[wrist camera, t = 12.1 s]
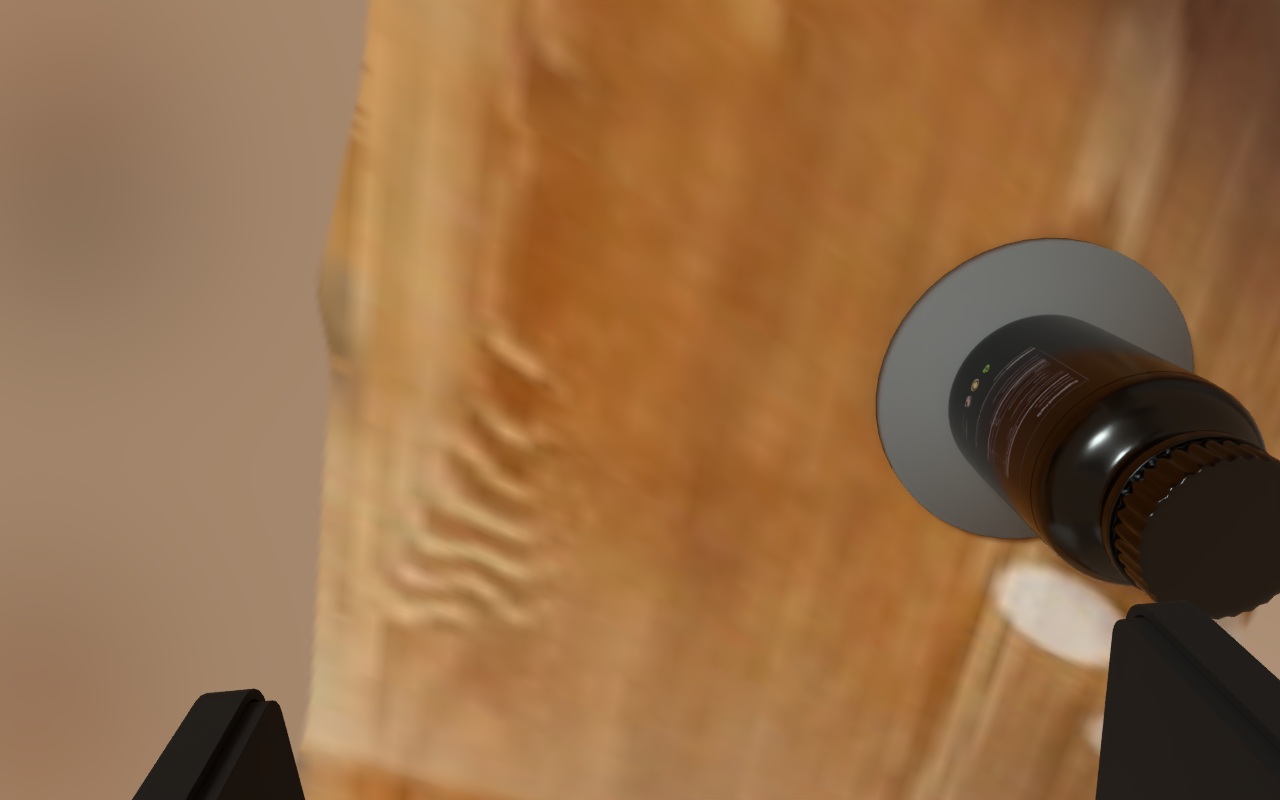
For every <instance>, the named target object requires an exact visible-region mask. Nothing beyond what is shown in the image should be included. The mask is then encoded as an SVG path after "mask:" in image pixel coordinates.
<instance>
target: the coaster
mask: <svg viewBox="0 0 1280 800" xmlns="http://www.w3.org/2000/svg"><path fill="white" fill-rule="evenodd" d="M1049 314H1052V315H1063V316H1069V317H1073V318H1076V319H1080V320H1082V321H1085V322H1088V323H1090V324H1092V325H1094V326H1096V327H1099V328H1101V329H1103V330H1105V331H1107V332H1109V333H1111V334H1113V335H1115V336H1118V337H1120V338H1122V339H1124V340H1126V341H1128V342H1130V343H1132V344H1134V345H1136V346H1138V347H1140V348H1142V349H1144V350H1146V351H1148V352H1150V353H1152V354H1154V355H1157V356H1159V357H1161V358H1163V359H1165V360H1167V361H1169V362H1171V363H1173V364H1175V365H1177V366H1179V367H1181V368H1183V369H1185V370H1187V371H1189V372H1191V373H1193V351H1192V346H1191V340H1190V334H1189V331H1188V328H1187V325H1186V322H1185V319H1184V317H1183V315H1182V313H1181V311H1180V309H1179V307H1178V305H1177V303H1176V301H1175V300H1174V298H1173V297H1172V296H1171V294H1170V293H1169V291H1168V290H1167V289H1166V287H1165V286H1164V285H1163V284H1162V283H1161V282H1160V281H1159V280H1158V279H1157V278H1156V277H1155V276H1154V275H1153V274H1152V273H1151V272H1150V271H1148V270H1147V269H1146V268H1144V267H1143V266H1141V265H1140V264H1139V263H1137V262H1136V261H1134V260H1132V259H1130V258H1128V257H1126V256H1124V255H1122V254H1120V253H1118V252H1116V251H1113V250H1110V249H1107V248H1104V247H1101V246H1098V245H1095V244H1092V243H1089V242H1084V241H1079V240H1073V239H1066V238H1040V239H1029V240H1023V241H1018V242H1014V243H1010V244H1005V245H1002V246H999V247H997V248H994V249H991V250H988V251H986V252H983V253H981V254H979V255H977V256H975V257H973V258H971V259H969V260H967V261H965V262H964V263H962V264H961V265H959V266H957V267H956V268H954V269H953V270H951V271H950V272H948V273H947V274H945V275H944V276H943V277H942V278H941V279H940V280H938V281H937V282H936V283H935V284H934V285H933V286H931V287H930V288H929V289H928V290H927V291H926V292H925V293H924V294H923V295H922V296H921V298H920V299H919V300H918V301H917V302H916V303H915V304H914V305H913V307H912V308H911V309H910V311H909V312H908V313H907V315H906V316H905V318H904V319H903V320H902V322H901V323H900V325H899V327H898V329H897V330H896V332H895V334H894V336H893V338H892V339H891V342H890V344H889V346H888V349H887V351H886V354H885V356H884V359H883V362H882V366H881V370H880V374H879V377H878V384H877V392H876V420H877V427H878V433H879V437H880V440H881V444H882V447H883V450H884V453H885V455H886V457H887V459H888V461H889V463H890V466H891V468H892V469H893V471H894V472H895V474H896V475H897V477H898V478H899V479H900V481H901V482H902V484H903V485H904V486H905V488H906V489H907V491H908V492H909V493H910V494H911V495H912V496H913V497H914V498H915V499H916V500H917V501H918V503H919V504H921V505H922V506H923V507H924V508H926V509H927V510H928V511H929V512H931V513H932V514H933V515H935V516H936V517H938V518H940V519H941V520H943V521H945V522H946V523H948V524H950V525H953V526H955V527H957V528H960V529H962V530H965V531H968V532H972V533H975V534H979V535H983V536H990V537H997V538H1029V537H1038V535H1037V534H1036V533H1035V532H1034V531H1033V530H1032V529H1031V528H1030V527H1029V526H1028V525H1027V523H1026V522H1025V521H1024V520H1023V519H1022V518H1021V517H1020V516H1019V515H1018V514H1017V513H1016V512H1015V511H1014V510H1013V509H1012V508H1011V507H1010V506H1009V505H1008V504H1007V503H1006V502H1005V501H1004V499H1003V498H1002V497H1001V496H1000V495H999V494H998V493H997V492H996V491H995V490H994V489H993V488H992V487H991V486H990V485H989V484H988V483H987V482H986V481H985V480H984V479H983V478H982V477H981V476H980V474H979V473H978V472H977V471H976V470H975V469H974V468H973V467H972V466H971V465H970V463H969V462H968V461H967V460H966V459H965V457H964V456H963V455H962V453H961V452H960V450H959V449H958V447H957V445H956V443H955V441H954V439H953V436H952V433H951V429H950V425H949V418H948V402H949V395H950V390H951V387H952V383H953V381H954V378H955V376H956V374H957V372H958V370H959V368H960V366H961V364H962V363H963V361H964V360H965V358H966V357H967V356H968V354H969V353H970V352H971V351H972V350H973V348H974V347H975V346H976V345H977V344H978V343H979V342H981V341H982V340H983V339H984V338H985V337H987V336H988V335H989V334H991V333H992V332H994V331H995V330H997V329H998V328H1000V327H1002V326H1004V325H1006V324H1008V323H1011V322H1013V321H1016V320H1019V319H1022V318H1026V317H1030V316H1036V315H1049Z"/></svg>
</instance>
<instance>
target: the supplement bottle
mask: <svg viewBox="0 0 1280 800" xmlns="http://www.w3.org/2000/svg"><path fill="white" fill-rule="evenodd" d="M948 418H949V425H950V429H951V433H952V436H953V439H954V441H955V443H956V445H957V447H958V449H959V450H960V452H961V453H962V455H963V456H964V457H965V459H966V460H967V461H968V462H969V463H970V465H971V466H972V467H973V468H974V469H975V470H976V471H977V472H978V473H979V474H980V476H981V477H982V478H983V479H984V480H985V481H986V482H987V483H988V484H989V485H990V486H991V487H992V488H993V489H994V490H995V491H996V492H997V493H998V494H999V495H1000V496H1001V497H1002V498H1003V499H1004V501H1005V502H1006V503H1007V504H1008V505H1009V506H1010V507H1011V508H1012V509H1013V510H1014V511H1015V512H1016V513H1017V514H1018V515H1019V516H1020V517H1021V518H1022V519H1023V520H1024V521H1025V522H1026V523H1027V525H1028V526H1029V527H1030V528H1031V529H1032V530H1033V531H1034V532H1035V533H1036V534H1037V535H1038V536H1039V537H1040V538H1041V539H1042V540H1043V541H1044V542H1045V543H1046V544H1047V545H1048V546H1049V547H1050V548H1051V549H1052V550H1053V551H1054V552H1055V553H1056V554H1057V555H1058V556H1059V557H1060V558H1061V559H1062V560H1063V561H1064V562H1066V563H1067V564H1068V565H1070V566H1071V567H1072V568H1074V569H1075V570H1077V571H1079V572H1080V573H1082V574H1084V575H1086V576H1088V577H1090V578H1093V579H1095V580H1098V581H1101V582H1105V583H1109V584H1114V585H1120V586H1130V587H1137V588H1138V589H1140V590H1142V591H1144V592H1145V593H1146V594H1147V595H1148V596H1149V597H1150V598H1151V599H1152V600H1154V601H1155V602H1157V603H1158V602H1169V601H1179V600H1186V601H1191V602H1192V603H1194V604H1195V605H1197V606H1198V607H1199V608H1200V609H1202V610H1203V611H1204V612H1205V613H1206V614H1207V615H1208V616H1209V617H1210V618H1213V619H1217V620H1218V619H1221V618H1223V617H1226V616H1230V617H1235V616H1237V615H1239V614H1241V613H1242V612H1249V611H1252V610H1254V609H1255V608H1256V607H1258V606H1259V605H1262V604H1265V603H1268V602H1269V601H1270V600H1271V599H1272V598H1273V597H1274V596H1275V595H1277V594H1279V593H1280V460H1278V459H1276V458H1274V457H1272V456H1271V455H1269V454H1268V453H1267V452H1266V447H1265V443H1264V440H1263V437H1262V435H1261V432H1260V430H1259V428H1258V426H1257V424H1256V422H1255V420H1254V419H1253V417H1252V416H1251V414H1250V413H1249V411H1248V410H1247V409H1246V408H1245V407H1244V406H1243V405H1242V404H1241V403H1240V402H1239V401H1238V400H1237V399H1236V398H1235V397H1234V396H1232V395H1231V394H1229V393H1228V392H1227V391H1225V390H1224V389H1222V388H1220V387H1218V386H1217V385H1215V384H1213V383H1211V382H1209V381H1208V380H1206V379H1204V378H1202V377H1200V376H1198V375H1196V374H1193V373H1191V372H1189V371H1187V370H1185V369H1183V368H1181V367H1179V366H1177V365H1175V364H1173V363H1171V362H1169V361H1167V360H1165V359H1163V358H1161V357H1159V356H1157V355H1154V354H1152V353H1150V352H1148V351H1146V350H1144V349H1142V348H1140V347H1138V346H1136V345H1134V344H1132V343H1130V342H1128V341H1126V340H1124V339H1122V338H1120V337H1118V336H1115V335H1113V334H1111V333H1109V332H1107V331H1105V330H1103V329H1101V328H1099V327H1096V326H1094V325H1092V324H1090V323H1088V322H1085V321H1082V320H1080V319H1076V318H1073V317H1069V316H1063V315H1052V314H1049V315H1036V316H1030V317H1026V318H1022V319H1019V320H1016V321H1013V322H1011V323H1008V324H1006V325H1004V326H1002V327H1000V328H998V329H997V330H995V331H994V332H992V333H991V334H989V335H988V336H987V337H985V338H984V339H983V340H982V341H981V342H979V343H978V344H977V345H976V346H975V347H974V348H973V350H972V351H971V352H970V353H969V354H968V356H967V357H966V358H965V360H964V361H963V363H962V364H961V366H960V368H959V370H958V372H957V374H956V376H955V378H954V381H953V383H952V387H951V390H950V395H949V402H948Z"/></svg>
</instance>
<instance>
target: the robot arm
mask: <svg viewBox="0 0 1280 800" xmlns="http://www.w3.org/2000/svg"><path fill="white" fill-rule="evenodd" d="M132 800H305V797H304V794H303V790H302V786H301V782H300V778H299V775H298V771H297V767H296V763H295V760H294V756H293V752H292V748H291V744H290V741H289V737H288V733H287V729H286V726H285V722H284V718H283V714H282V711H281V708H280V705H279V704H278V703H277V702H276V701H273V700H272V701H265V699H264V696H263V695H262V693H261V692H260V691H259V690H256V689H247V690H235V691H225V692H214V693H206V694H204V695H201V696H200V697H199V698H198V699H197V700H196V702H195V703H194V705H193V706H192V708H191V709H190V711H189V712H188V714H187V716H186V717H185V719H184V720H183V722H182V723H181V725H180V726H179V728H178V729H177V731H176V733H175V734H174V736H173V737H172V739H171V740H170V742H169V743H168V745H167V746H166V748H165V750H164V751H163V753H162V754H161V756H160V757H159V759H158V760H157V762H156V764H155V765H154V767H153V768H152V770H151V771H150V773H149V774H148V776H147V777H146V779H145V781H144V782H143V784H142V785H141V787H140V788H139V790H138V791H137V793H136V794H135V796H134V797H133V799H132ZM1096 800H1280V680H1279V679H1278V678H1277V677H1276V676H1275V675H1273V674H1272V673H1271V672H1270V671H1269V670H1268V669H1267V668H1266V667H1264V666H1263V665H1262V664H1261V663H1260V662H1259V661H1258V660H1257V659H1256V658H1254V656H1252V655H1251V654H1250V653H1249V652H1248V651H1247V650H1246V649H1245V648H1244V647H1242V646H1241V645H1240V644H1239V643H1238V642H1237V641H1236V640H1235V639H1234V638H1233V637H1231V636H1230V635H1229V634H1228V633H1227V632H1226V631H1225V630H1224V629H1223V628H1221V627H1220V626H1219V625H1218V624H1217V623H1216V622H1215V621H1214V620H1213V619H1212V618H1210V617H1209V616H1208V615H1207V614H1206V613H1205V612H1204V611H1203V610H1202V609H1200V608H1199V607H1198V606H1197V605H1195V604H1194V603H1192V602H1191V601H1186V600H1179V601H1169V602H1158V603H1148V604H1137V605H1134V606H1132V607H1131V608H1130V609H1129V611H1128V613H1127V616H1126V619H1121V620H1118V621H1117V622H1116V623H1115V625H1114V628H1113V632H1112V642H1111V652H1110V662H1109V672H1108V682H1107V692H1106V701H1105V711H1104V721H1103V731H1102V741H1101V751H1100V761H1099V771H1098V781H1097V790H1096Z"/></svg>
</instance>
